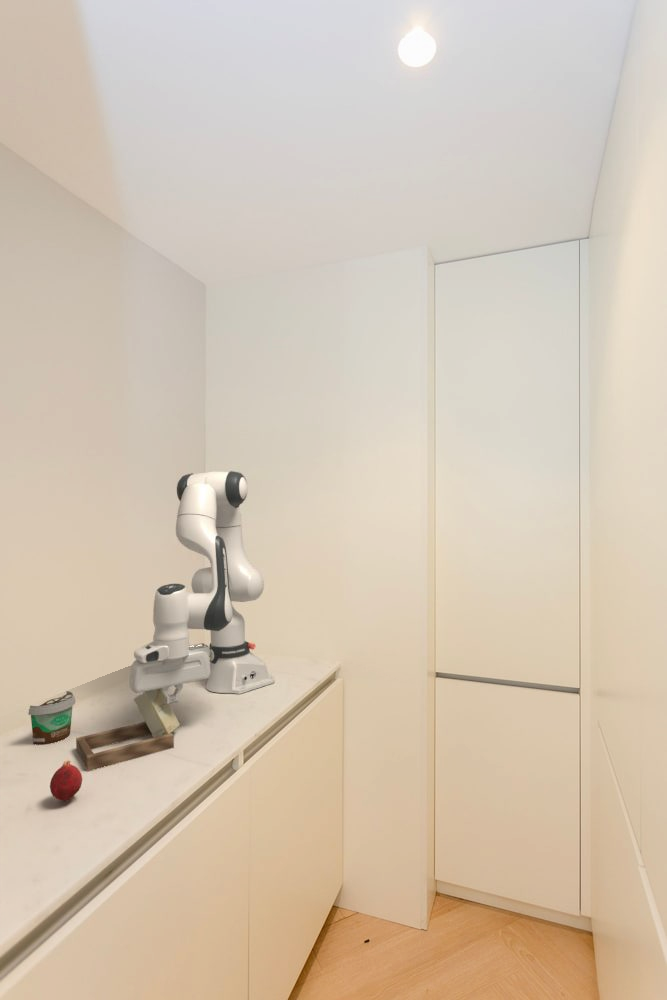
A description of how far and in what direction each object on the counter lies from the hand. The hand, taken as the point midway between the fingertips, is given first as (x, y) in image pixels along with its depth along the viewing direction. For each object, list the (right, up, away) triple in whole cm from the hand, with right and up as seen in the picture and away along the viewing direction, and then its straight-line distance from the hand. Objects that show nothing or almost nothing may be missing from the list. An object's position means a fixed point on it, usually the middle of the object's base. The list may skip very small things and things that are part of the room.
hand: (171, 702), depth 138 cm
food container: (-29, -9, 0) cm, 30 cm away
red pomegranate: (-12, -9, -30) cm, 33 cm away
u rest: (-9, -9, -7) cm, 14 cm away
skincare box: (-1, -8, 0) cm, 8 cm away
